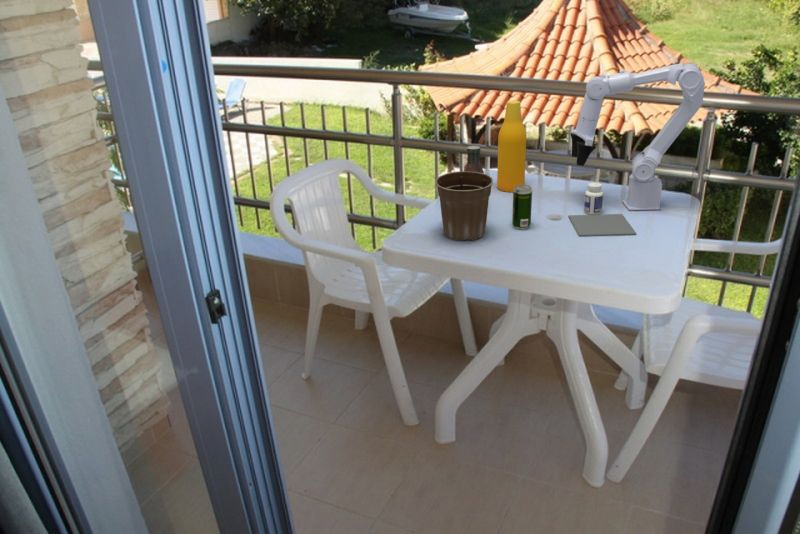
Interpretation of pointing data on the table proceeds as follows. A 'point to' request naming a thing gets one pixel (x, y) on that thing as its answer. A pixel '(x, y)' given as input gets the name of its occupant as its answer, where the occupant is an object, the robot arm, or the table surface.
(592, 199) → the pill bottle
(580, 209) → the table surface
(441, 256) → the table surface
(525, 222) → the beer can
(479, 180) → the plant pot
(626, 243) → the table surface
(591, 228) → the mat
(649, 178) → the robot arm
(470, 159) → the sauce bottle
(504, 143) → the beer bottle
